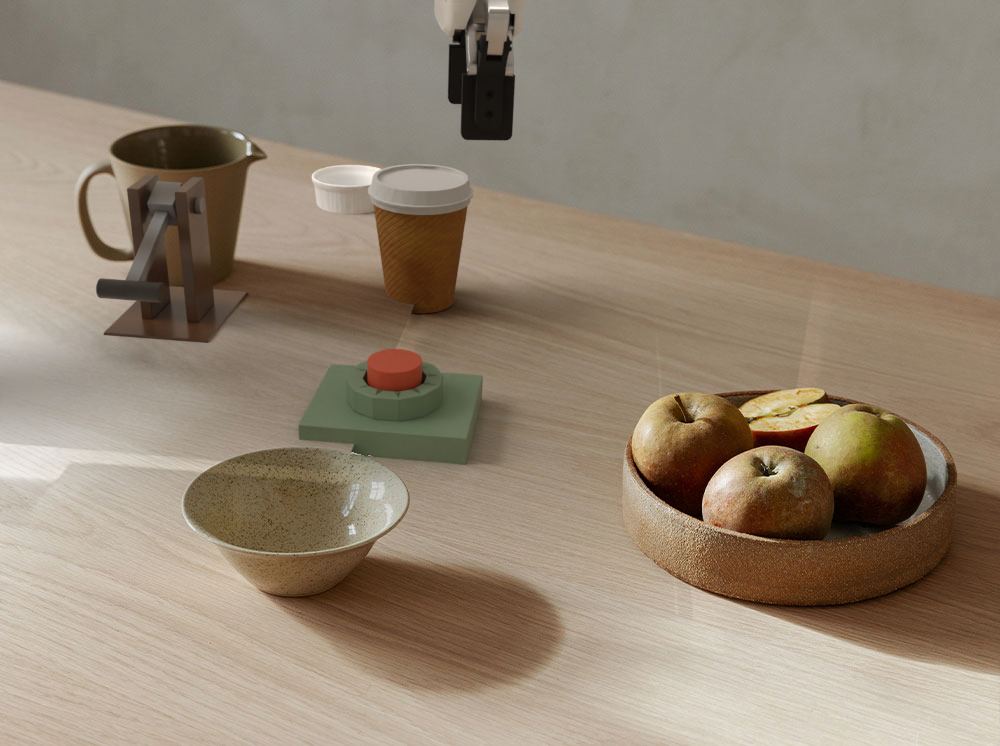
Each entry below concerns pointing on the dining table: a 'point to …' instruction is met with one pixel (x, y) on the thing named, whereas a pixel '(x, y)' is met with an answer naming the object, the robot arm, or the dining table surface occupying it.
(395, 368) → the button
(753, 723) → the dining table surface
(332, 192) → the ramekin
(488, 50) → the robot arm
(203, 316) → the bracket
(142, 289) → the lever
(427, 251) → the disposable coffee cup
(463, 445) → the button box
